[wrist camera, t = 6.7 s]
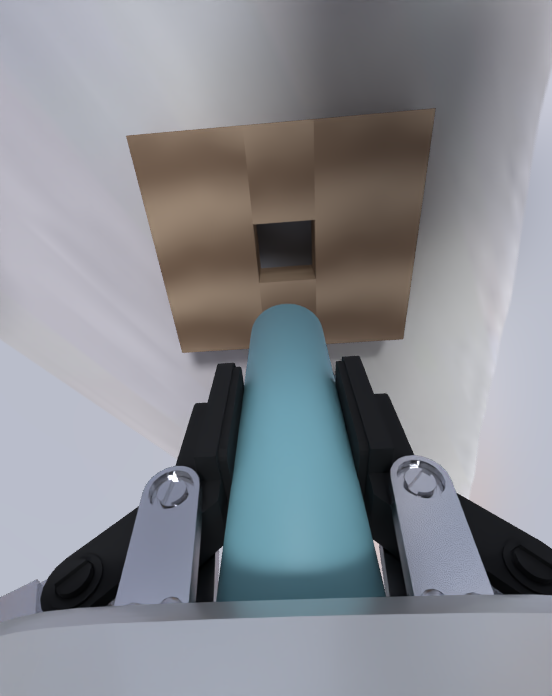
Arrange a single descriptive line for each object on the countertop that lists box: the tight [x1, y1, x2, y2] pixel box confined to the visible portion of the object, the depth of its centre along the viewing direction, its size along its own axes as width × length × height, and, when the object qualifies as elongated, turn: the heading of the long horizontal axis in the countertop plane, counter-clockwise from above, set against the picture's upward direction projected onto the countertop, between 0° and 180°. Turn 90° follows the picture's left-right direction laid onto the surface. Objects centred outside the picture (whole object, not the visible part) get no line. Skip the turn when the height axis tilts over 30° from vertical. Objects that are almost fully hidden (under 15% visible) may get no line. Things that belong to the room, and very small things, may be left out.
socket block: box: [126, 108, 436, 353], centre depth 28 cm, size 17×20×4 cm
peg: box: [216, 304, 386, 602], centre depth 10 cm, size 3×3×12 cm
